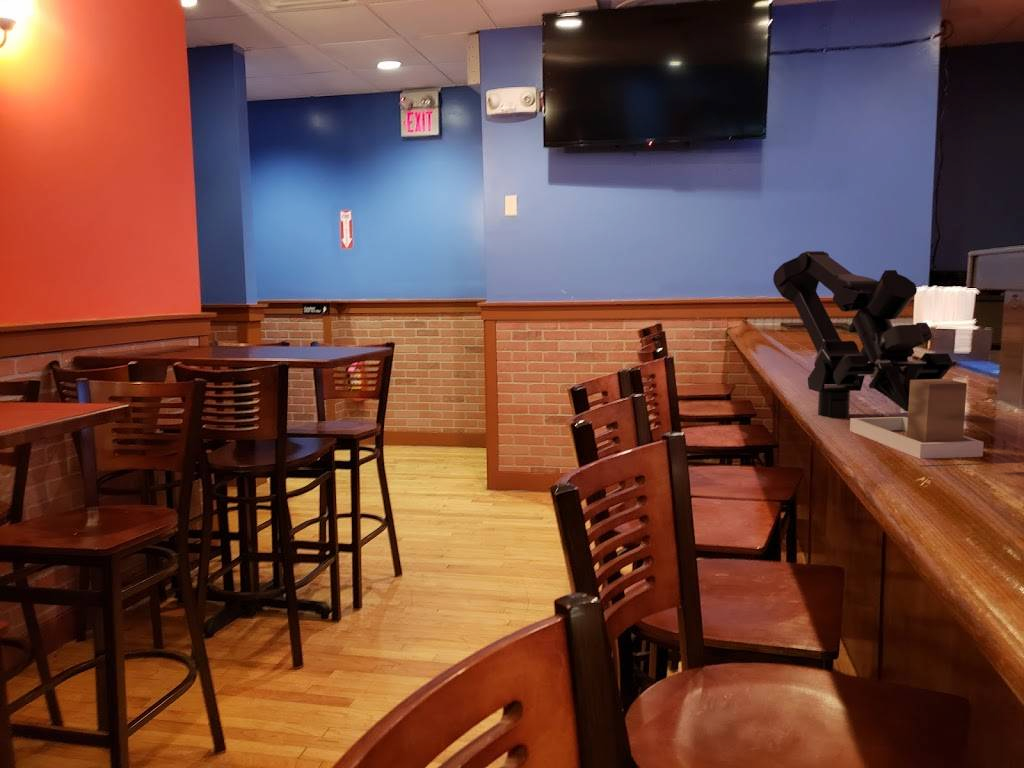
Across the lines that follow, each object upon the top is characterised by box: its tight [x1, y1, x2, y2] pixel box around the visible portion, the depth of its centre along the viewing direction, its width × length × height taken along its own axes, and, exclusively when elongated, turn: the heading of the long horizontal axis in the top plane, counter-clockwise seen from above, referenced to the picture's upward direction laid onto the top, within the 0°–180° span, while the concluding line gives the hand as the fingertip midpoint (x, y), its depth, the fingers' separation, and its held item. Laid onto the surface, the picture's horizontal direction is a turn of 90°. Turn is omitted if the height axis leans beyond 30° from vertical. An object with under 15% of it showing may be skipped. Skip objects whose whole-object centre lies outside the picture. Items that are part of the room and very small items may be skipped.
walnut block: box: [906, 378, 968, 443], centre depth 122 cm, size 5×6×11 cm
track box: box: [849, 416, 985, 468], centre depth 129 cm, size 21×10×4 cm, turn 4°
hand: (909, 409), depth 129 cm, fingers closed
